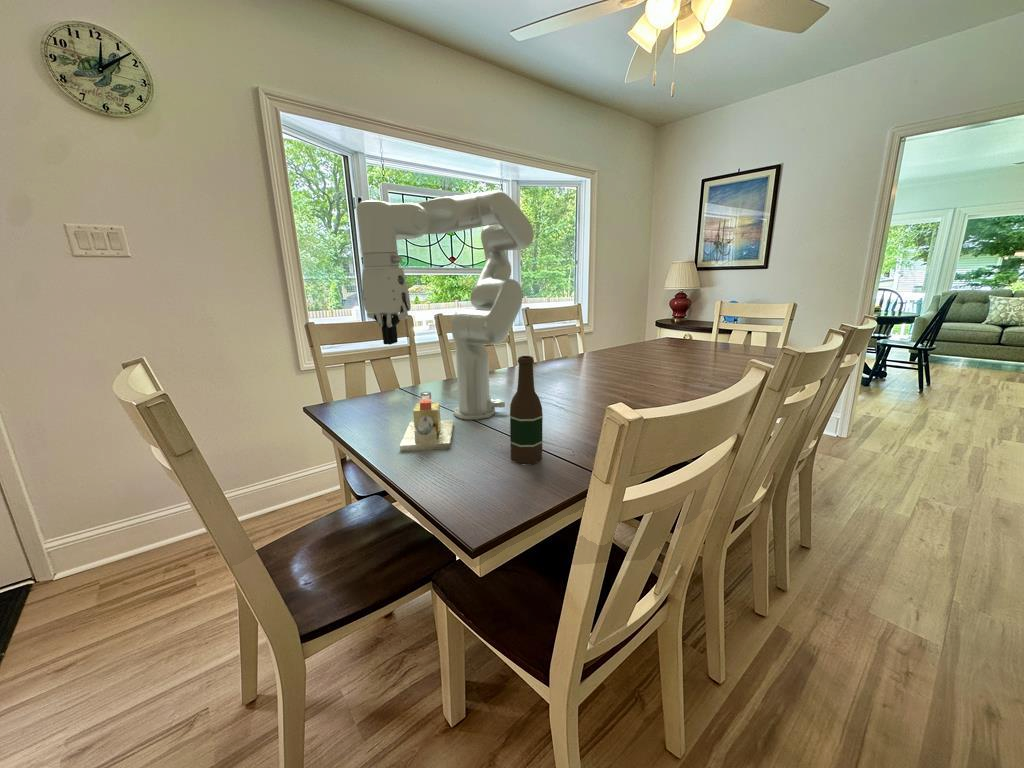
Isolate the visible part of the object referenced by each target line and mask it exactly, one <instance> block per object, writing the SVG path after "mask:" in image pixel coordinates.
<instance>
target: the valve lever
mask: <svg viewBox="0 0 1024 768" xmlns="http://www.w3.org/2000/svg"><path fill="white" fill-rule="evenodd" d="M431 402H432V392H431V391H422V392H420V399H419V403H420V411H422V410H431Z"/></svg>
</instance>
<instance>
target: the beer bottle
mask: <svg viewBox="0 0 1024 768" xmlns="http://www.w3.org/2000/svg"><path fill="white" fill-rule="evenodd" d="M517 363H518V374H517V375H518V377H517V388H516V392H515V394H514V395H513V396H512V398H511V402H510V407H509V425H510V426H509V430H510V431H509V433H510V435H509V437H510V439H509V440H510V460H511V461H512V462H513V461H514V462H513V463H517V464H518V463H519V464H518V465H520V464H531V465H535V464H537V463H539V462H540V460H541V461H542V458H543V420H544V419H543V415H544V414H543V406H542V403H541V400H540V397H539V395H538V394H537V393H536V389H535V380H534V379H535V378H534V363H535V361H534V357H533V356H531V355H521V356H518V358H517ZM538 461H539V462H538ZM536 462H537V463H536ZM534 463H535V464H534Z"/></svg>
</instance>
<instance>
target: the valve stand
mask: <svg viewBox="0 0 1024 768" xmlns="http://www.w3.org/2000/svg"><path fill="white" fill-rule="evenodd" d="M412 411H413V413H412V414H413V421H409V424H408V426H407V428H406V431H405V433H404V435H403V437H402V440H401V442H400V444H399V449H400V452H410V451H411V452H414V451H429V450H431V451H432V450H450V449H451V446H452V439H451V438H453V432H452V431H453V430H454V419H444V420H443V419H441V407H440V402H439V401H438V402H433V401H431V410H422V411H420V402H418V403H416V404H415V406H414V408H413V410H412ZM450 445H451V446H450Z"/></svg>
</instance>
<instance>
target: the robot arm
mask: <svg viewBox="0 0 1024 768" xmlns="http://www.w3.org/2000/svg"><path fill="white" fill-rule="evenodd" d="M356 205H357V206H356V214H357V222H358V231H359V238H360V239H359V240H360V245H361V246H360V247H361V248H360V249H361V254H362V261H363V269H362V272H361V276H362V277H361V291H362V301H363V307H364V310H365V312H367V313H366V315H367V316H366V317H367V318H369V319H372V320H375V321H376V323H377V324H378V327H380V328H381V335H382V341H383V345H393V344H396V343H398V328H397V327H398V326H399V323H400V322H401V321H402V320H404V319H408V318H409V313H408V312H410V310H411V298H410V291H409V287H408V281H407V278H406V277H407V276H406V275H405V272H404V269H403V268H402V267H400V263H402V261H403V258H402V256H401V255H399V253H398V252H399V251H398V242H397V241H399V240H411V239H418V238H419V239H420V238H421V237H423V236H424V235H444V234H450V233H457V232H461V231H465V230H472V229H477V228H482V230H481V234H480V240H481V245H482V249H483V253H484V258H485V260H484V265H483V267H482V270H481V271H480V273H479V276H478V278H477V280H476V282H475V284H474V285H473V287H472V289H471V292H470V295H469V296H470V299H469V300H470V304H471V305H472V307H474V308H463V309H460V310H458V311H457V312H455V313H454V314H453V316H452V318H451V321H450V331H451V335H452V338H453V343H454V349H455V357H456V362H455V363H456V378H457V380H456V381H457V396H458V397H457V399H458V406H456V407H455V408H454V409H453V415H454V416H455V417H456V418H459V419H462V420H469V421H474V420H475V421H477V420H482V419H486V418H489V417H492V416H493V415H494V414H495V413H496V408H505V407H506V402H505V401H504V400H501V399H494V398H493V399H492V398H491V395H490V366H489V365H490V364H489V363H490V362H489V353H488V349H487V347H486V345H491V346H495V345H499V344H502V343H503V342H504V341H505V340H506V339H507V337H508V335H509V334H510V332H511V329H512V327H513V324H514V322H515V320H516V318H517V316H518V314H519V312H520V309H521V307H522V303H523V296H524V295H523V288H522V286H521V284H520V283H519V282H518V281H517V280H516V279H512V278H511V275H512V266H511V263H510V261H509V258H508V256H507V253H506V251H520V250H525V249H527V248H529V247H530V246H531V245H532V243H533V241H534V236H535V235H534V234H535V233H534V228H533V225H532V223H531V221H530V220H529V219H528V217H527V216H526V215H525V213H524V212H523V211H522V209H521V208H520V207H519V206H518V204H517V203H516V202H515V201H514V200H513V199H512V198H511V196H509V195H508V194H507V193H505V192H504V191H502V190H497V189H496V190H491V191H490V190H489V191H486V192H484V191H483V192H477V193H470V194H460V195H452V196H451V195H449V196H443V197H437V198H433V199H429V200H425V201H419V202H415V203H414V202H404V203H403V202H400V203H399V202H398V203H397V202H396V203H391V202H390V203H389V202H387V201H381V200H363V201H361V202H359V203H358V204H356Z"/></svg>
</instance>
